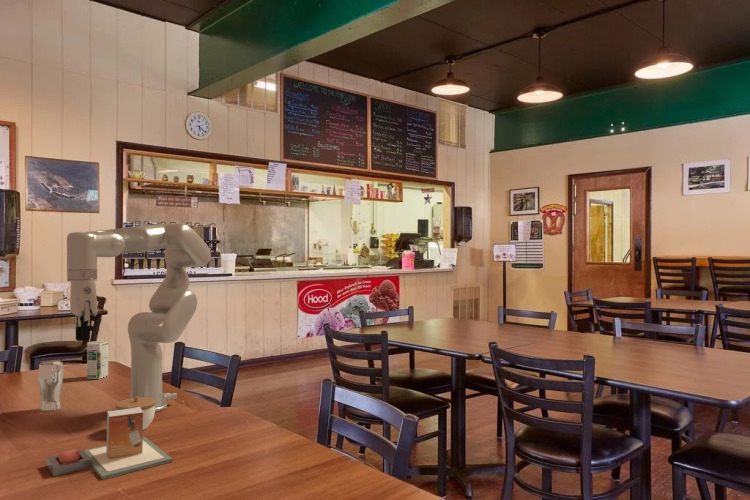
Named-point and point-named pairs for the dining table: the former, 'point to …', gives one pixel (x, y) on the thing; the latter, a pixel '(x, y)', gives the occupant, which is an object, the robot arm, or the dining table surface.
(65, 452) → the red rounded knob
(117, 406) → the lidded jar
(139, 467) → the board
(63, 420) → the dining table surface
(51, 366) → the beer glass
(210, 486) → the dining table surface
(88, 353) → the syrup box
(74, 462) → the button housing
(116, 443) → the small box
